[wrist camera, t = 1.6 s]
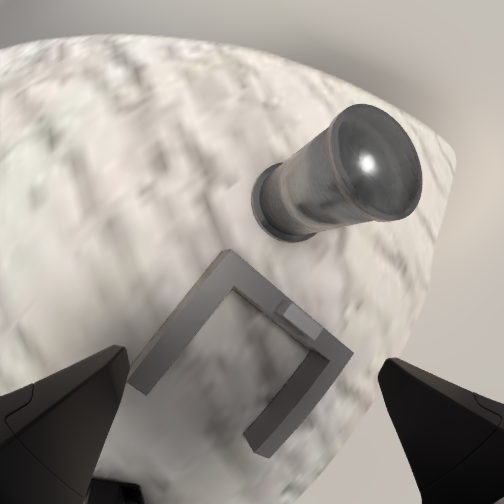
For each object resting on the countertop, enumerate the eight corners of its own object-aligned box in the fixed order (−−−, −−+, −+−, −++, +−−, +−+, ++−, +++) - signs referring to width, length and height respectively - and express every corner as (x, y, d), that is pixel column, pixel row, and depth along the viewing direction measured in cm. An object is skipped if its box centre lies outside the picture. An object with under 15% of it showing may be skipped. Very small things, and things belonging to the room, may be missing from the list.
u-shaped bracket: (257, 440, 20) (275, 468, 16) (130, 365, 18) (123, 390, 14) (333, 344, 23) (365, 357, 19) (221, 251, 20) (236, 247, 16)
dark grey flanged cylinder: (323, 245, 23) (429, 232, 12) (249, 239, 21) (331, 216, 10) (323, 171, 23) (416, 123, 13) (252, 159, 21) (324, 83, 11)
